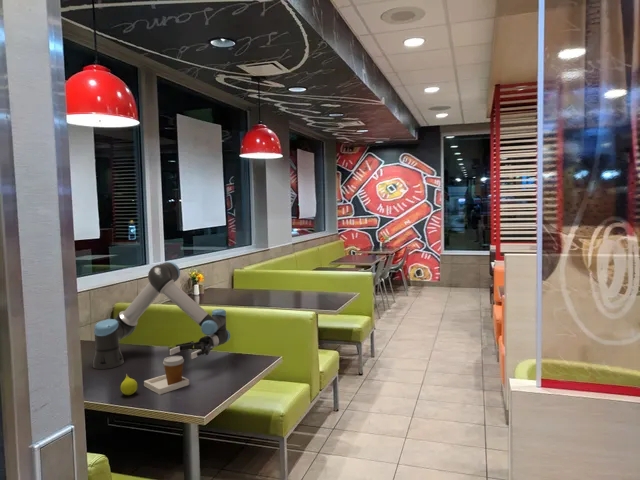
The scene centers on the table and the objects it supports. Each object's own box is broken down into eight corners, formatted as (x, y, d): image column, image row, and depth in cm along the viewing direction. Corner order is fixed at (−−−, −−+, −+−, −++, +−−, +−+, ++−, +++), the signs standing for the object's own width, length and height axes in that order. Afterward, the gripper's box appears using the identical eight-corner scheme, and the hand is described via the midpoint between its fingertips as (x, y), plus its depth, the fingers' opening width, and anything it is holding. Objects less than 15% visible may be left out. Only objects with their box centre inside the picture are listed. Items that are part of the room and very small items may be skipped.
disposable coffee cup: (179, 387, 214) (178, 362, 213) (160, 387, 215) (159, 361, 214) (188, 379, 223) (187, 355, 222) (169, 379, 224) (168, 355, 224)
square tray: (144, 386, 219) (143, 381, 218) (173, 377, 229) (172, 372, 229) (159, 394, 208) (159, 389, 208) (189, 384, 219) (189, 379, 219)
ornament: (126, 391, 213) (124, 369, 212) (140, 391, 213) (139, 370, 212) (117, 397, 206) (116, 375, 205) (132, 397, 205) (131, 375, 205)
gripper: (227, 352, 242) (201, 365, 223) (190, 346, 253) (161, 358, 234) (227, 338, 242) (200, 350, 223) (189, 333, 252) (161, 343, 233)
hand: (180, 354), depth 228 cm, fingers open, 13 cm apart
